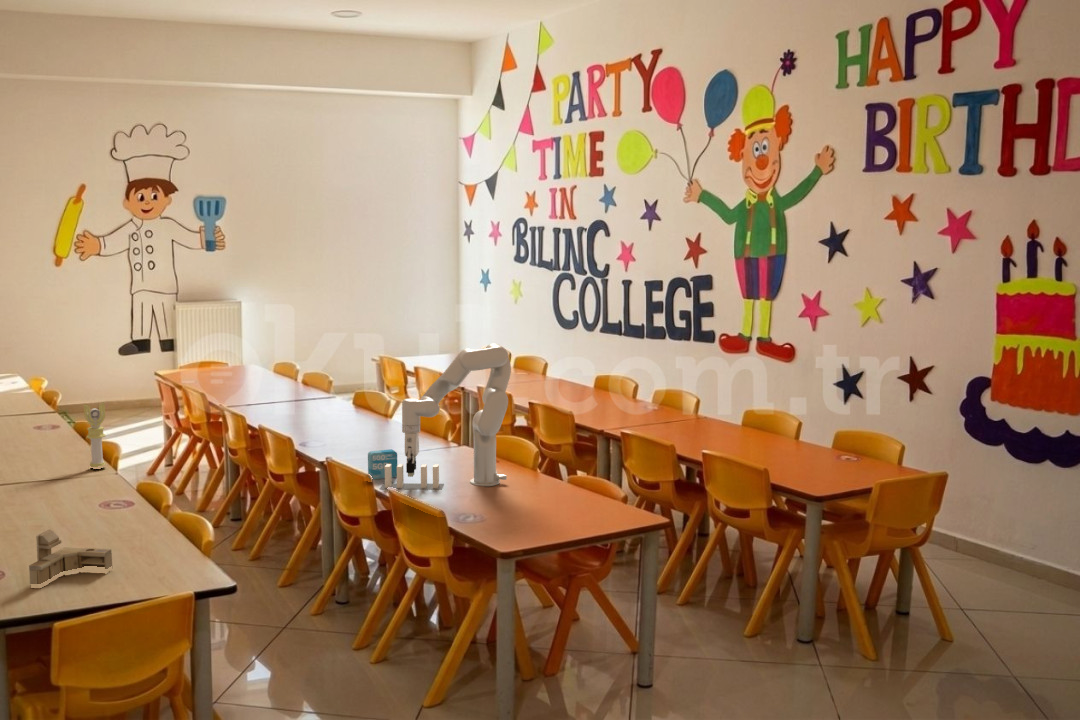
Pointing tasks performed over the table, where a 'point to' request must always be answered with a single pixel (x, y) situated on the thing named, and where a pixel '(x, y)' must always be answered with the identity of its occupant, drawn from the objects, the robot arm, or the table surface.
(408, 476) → the domino
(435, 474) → the domino
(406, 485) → the domino mat
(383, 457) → the data package
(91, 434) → the trophy
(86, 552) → the toy kitchen set
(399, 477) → the domino
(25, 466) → the table surface
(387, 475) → the domino
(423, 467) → the domino
